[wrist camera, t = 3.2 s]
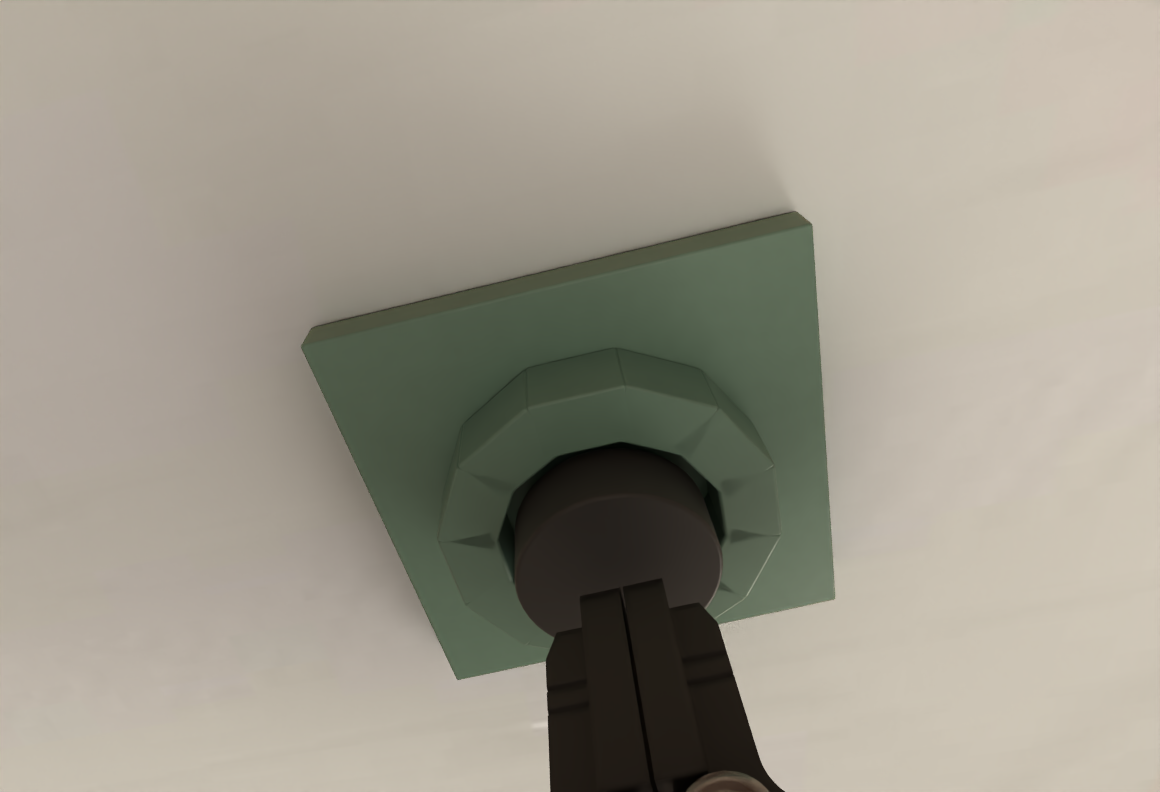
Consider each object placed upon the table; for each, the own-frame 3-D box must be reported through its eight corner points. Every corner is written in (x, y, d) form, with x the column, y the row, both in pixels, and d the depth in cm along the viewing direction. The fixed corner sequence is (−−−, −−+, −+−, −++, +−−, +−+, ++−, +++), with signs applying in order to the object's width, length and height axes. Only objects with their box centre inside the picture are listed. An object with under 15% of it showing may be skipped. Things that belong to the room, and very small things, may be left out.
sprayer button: (491, 471, 14) (488, 522, 13) (691, 426, 14) (709, 473, 13) (541, 612, 16) (543, 669, 15) (717, 574, 16) (735, 628, 15)
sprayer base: (311, 327, 15) (274, 386, 12) (796, 210, 14) (847, 250, 12) (459, 653, 20) (452, 736, 17) (823, 575, 19) (862, 650, 17)
